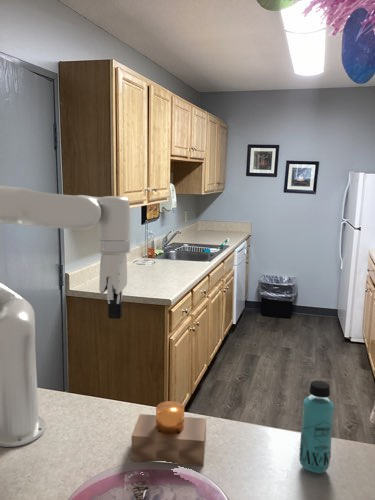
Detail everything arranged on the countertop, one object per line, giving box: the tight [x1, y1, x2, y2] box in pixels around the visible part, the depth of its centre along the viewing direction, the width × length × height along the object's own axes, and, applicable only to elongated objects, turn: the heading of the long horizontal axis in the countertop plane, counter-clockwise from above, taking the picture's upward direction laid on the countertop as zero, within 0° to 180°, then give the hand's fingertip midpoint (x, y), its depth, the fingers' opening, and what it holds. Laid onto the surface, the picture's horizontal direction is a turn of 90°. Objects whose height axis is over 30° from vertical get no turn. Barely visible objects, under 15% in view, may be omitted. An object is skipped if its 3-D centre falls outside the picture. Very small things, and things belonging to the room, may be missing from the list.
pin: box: [155, 400, 185, 435], centre depth 98 cm, size 6×6×10 cm
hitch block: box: [131, 413, 207, 467], centre depth 98 cm, size 16×9×6 cm, turn 85°
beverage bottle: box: [299, 380, 335, 474], centre depth 91 cm, size 6×7×20 cm
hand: (115, 317), depth 109 cm, fingers closed
